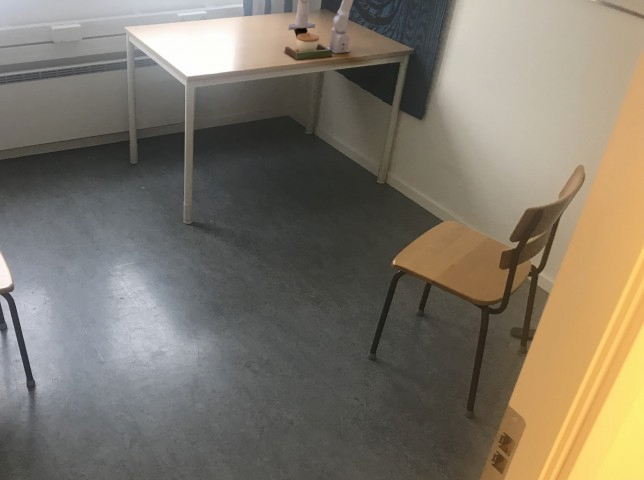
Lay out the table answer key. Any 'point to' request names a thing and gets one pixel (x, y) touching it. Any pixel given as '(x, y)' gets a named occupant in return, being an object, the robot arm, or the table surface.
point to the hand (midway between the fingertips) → (299, 44)
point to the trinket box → (307, 42)
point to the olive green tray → (309, 53)
